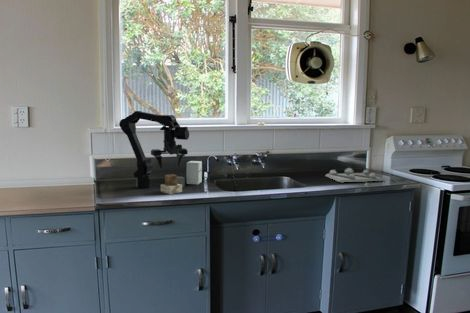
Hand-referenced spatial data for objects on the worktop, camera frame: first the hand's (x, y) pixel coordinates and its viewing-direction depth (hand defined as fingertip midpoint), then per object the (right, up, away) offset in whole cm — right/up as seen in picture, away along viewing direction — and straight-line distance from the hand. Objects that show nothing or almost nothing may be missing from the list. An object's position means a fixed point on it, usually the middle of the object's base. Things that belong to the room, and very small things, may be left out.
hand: (169, 167), depth 216 cm
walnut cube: (+2, -9, -4) cm, 10 cm away
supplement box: (+11, -10, +19) cm, 24 cm away
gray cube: (+4, -11, +11) cm, 15 cm away
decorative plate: (+110, -9, +36) cm, 116 cm away
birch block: (+2, -13, -3) cm, 13 cm away
